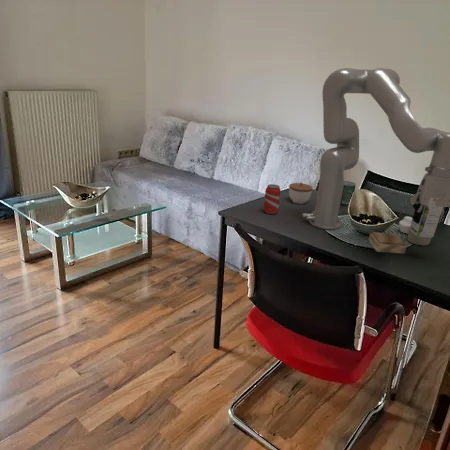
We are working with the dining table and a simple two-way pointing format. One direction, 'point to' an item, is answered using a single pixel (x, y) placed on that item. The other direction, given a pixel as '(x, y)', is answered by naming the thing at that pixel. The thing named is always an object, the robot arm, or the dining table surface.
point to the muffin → (405, 224)
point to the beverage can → (272, 199)
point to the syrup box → (427, 220)
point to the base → (387, 242)
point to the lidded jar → (299, 192)
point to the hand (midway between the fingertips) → (425, 222)
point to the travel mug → (418, 238)
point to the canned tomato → (347, 193)
